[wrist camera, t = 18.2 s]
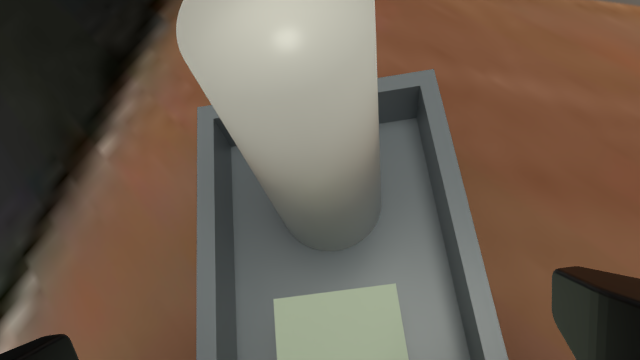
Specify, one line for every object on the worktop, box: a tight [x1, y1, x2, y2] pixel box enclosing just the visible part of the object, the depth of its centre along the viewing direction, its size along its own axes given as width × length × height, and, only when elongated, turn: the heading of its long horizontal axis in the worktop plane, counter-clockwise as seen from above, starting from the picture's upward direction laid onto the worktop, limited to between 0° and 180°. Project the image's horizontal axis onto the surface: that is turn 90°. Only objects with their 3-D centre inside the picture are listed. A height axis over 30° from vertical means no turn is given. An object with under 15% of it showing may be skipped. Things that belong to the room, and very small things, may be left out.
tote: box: [196, 69, 508, 360], centre depth 21 cm, size 17×12×4 cm
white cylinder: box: [176, 0, 381, 251], centre depth 18 cm, size 5×5×13 cm
